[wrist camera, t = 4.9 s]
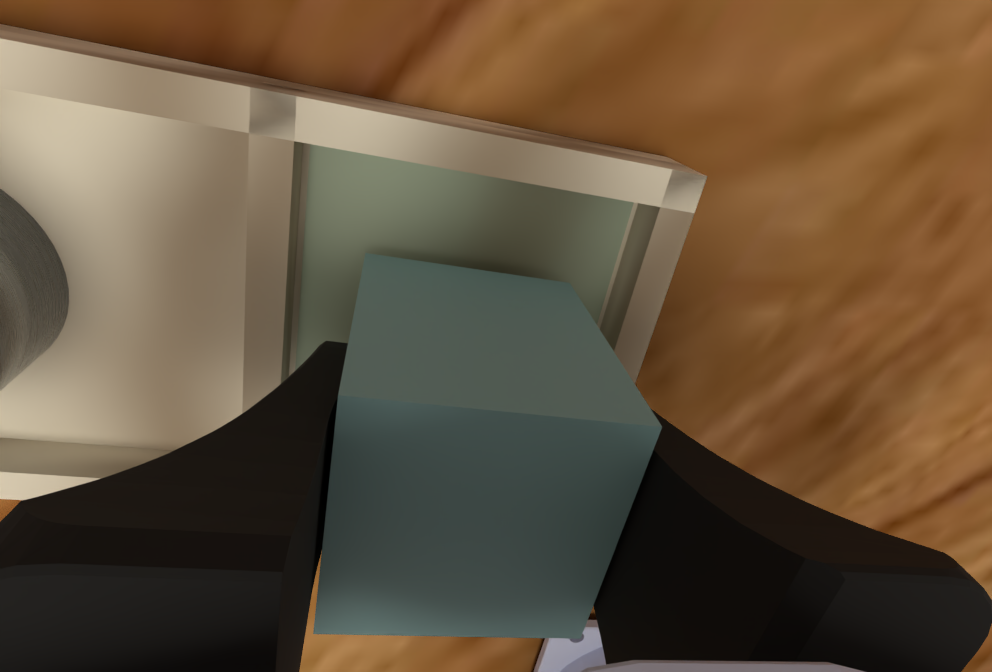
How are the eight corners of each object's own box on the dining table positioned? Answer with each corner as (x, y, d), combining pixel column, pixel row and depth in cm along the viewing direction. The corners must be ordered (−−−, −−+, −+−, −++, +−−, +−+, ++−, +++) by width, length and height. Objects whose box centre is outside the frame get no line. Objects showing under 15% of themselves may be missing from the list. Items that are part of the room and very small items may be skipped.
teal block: (569, 282, 13) (662, 426, 9) (525, 445, 15) (580, 638, 10) (365, 253, 12) (338, 395, 8) (345, 429, 14) (313, 633, 9)
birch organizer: (667, 157, 14) (707, 176, 13) (565, 480, 19) (583, 531, 17) (-381, -52, 10) (-564, -72, 8) (-211, 421, 15) (-306, 481, 13)
